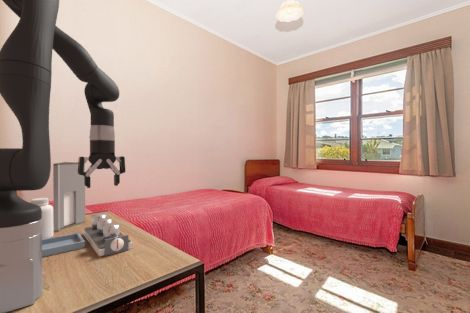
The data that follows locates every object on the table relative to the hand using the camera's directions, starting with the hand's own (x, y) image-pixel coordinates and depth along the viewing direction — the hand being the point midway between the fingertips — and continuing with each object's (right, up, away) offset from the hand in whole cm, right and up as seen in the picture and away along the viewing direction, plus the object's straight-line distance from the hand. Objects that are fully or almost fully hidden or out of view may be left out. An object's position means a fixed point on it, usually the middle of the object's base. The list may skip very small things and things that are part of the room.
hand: (102, 186), depth 83 cm
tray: (-14, -21, 0) cm, 25 cm away
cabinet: (-28, -21, +27) cm, 44 cm away
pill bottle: (-28, -21, +8) cm, 36 cm away
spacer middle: (-3, -18, +7) cm, 20 cm away
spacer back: (-9, -18, +13) cm, 24 cm away
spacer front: (+3, -18, 0) cm, 19 cm away
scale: (-2, -21, +6) cm, 22 cm away
